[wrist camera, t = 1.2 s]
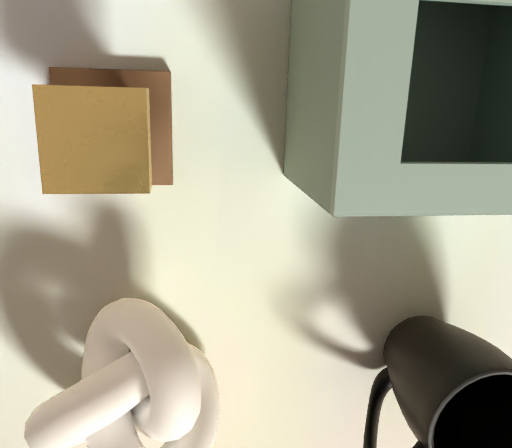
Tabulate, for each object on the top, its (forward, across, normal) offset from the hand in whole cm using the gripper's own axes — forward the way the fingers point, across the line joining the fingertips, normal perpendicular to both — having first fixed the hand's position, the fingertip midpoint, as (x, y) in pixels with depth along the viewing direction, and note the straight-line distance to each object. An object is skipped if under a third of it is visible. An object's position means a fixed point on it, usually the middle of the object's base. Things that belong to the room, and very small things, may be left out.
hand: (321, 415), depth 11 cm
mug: (+22, +10, -16) cm, 29 cm away
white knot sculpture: (+22, -8, -10) cm, 26 cm away
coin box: (+22, +12, +5) cm, 26 cm away
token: (+16, -6, +6) cm, 18 cm away
